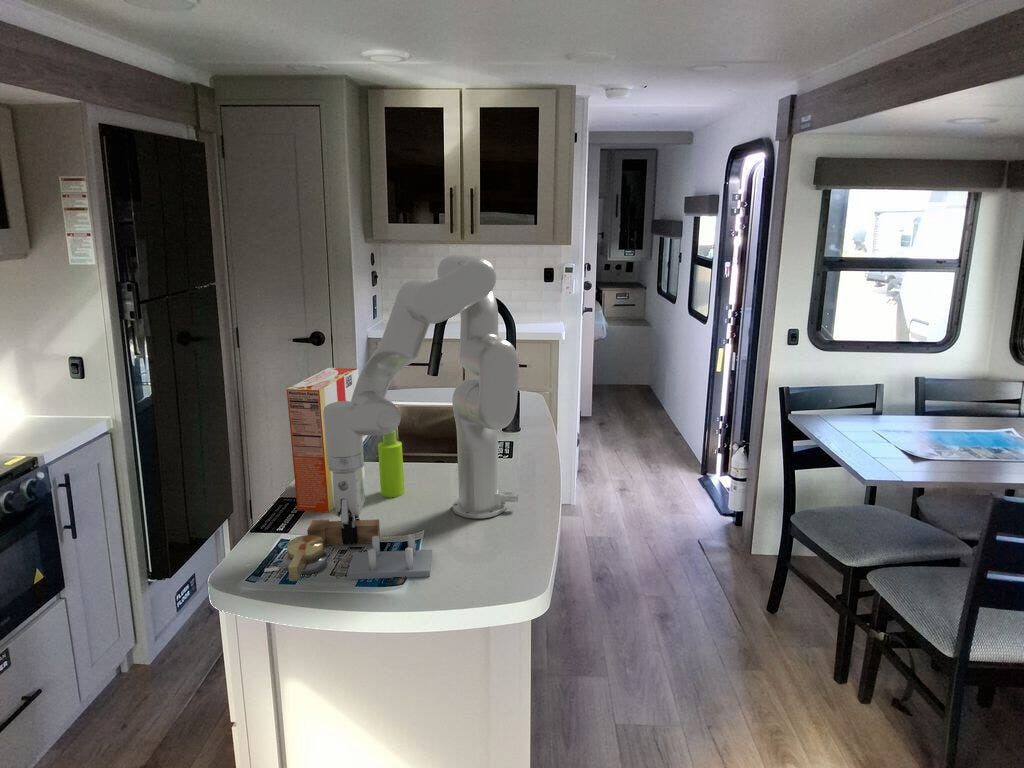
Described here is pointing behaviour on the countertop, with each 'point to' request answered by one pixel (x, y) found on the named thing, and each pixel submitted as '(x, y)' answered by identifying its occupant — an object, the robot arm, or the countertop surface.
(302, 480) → the orange cereal box
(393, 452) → the soap dispenser
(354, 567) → the rack
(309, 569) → the base
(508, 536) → the countertop surface
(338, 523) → the tan wooden bar
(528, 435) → the countertop surface
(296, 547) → the gold lever handle
